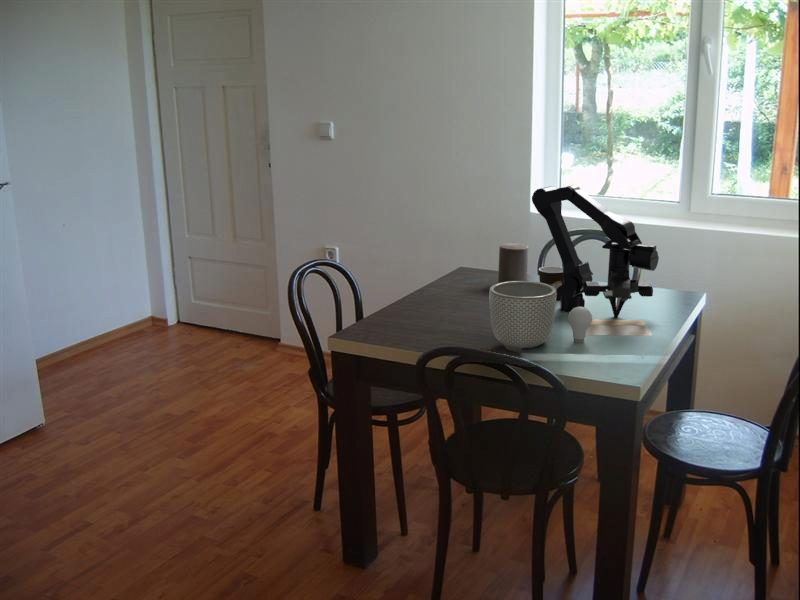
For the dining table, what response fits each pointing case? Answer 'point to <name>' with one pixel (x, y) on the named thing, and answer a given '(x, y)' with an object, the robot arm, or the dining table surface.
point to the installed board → (618, 330)
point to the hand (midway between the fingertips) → (615, 317)
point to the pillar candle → (513, 262)
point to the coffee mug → (552, 277)
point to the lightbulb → (579, 322)
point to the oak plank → (616, 322)
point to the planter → (522, 313)
